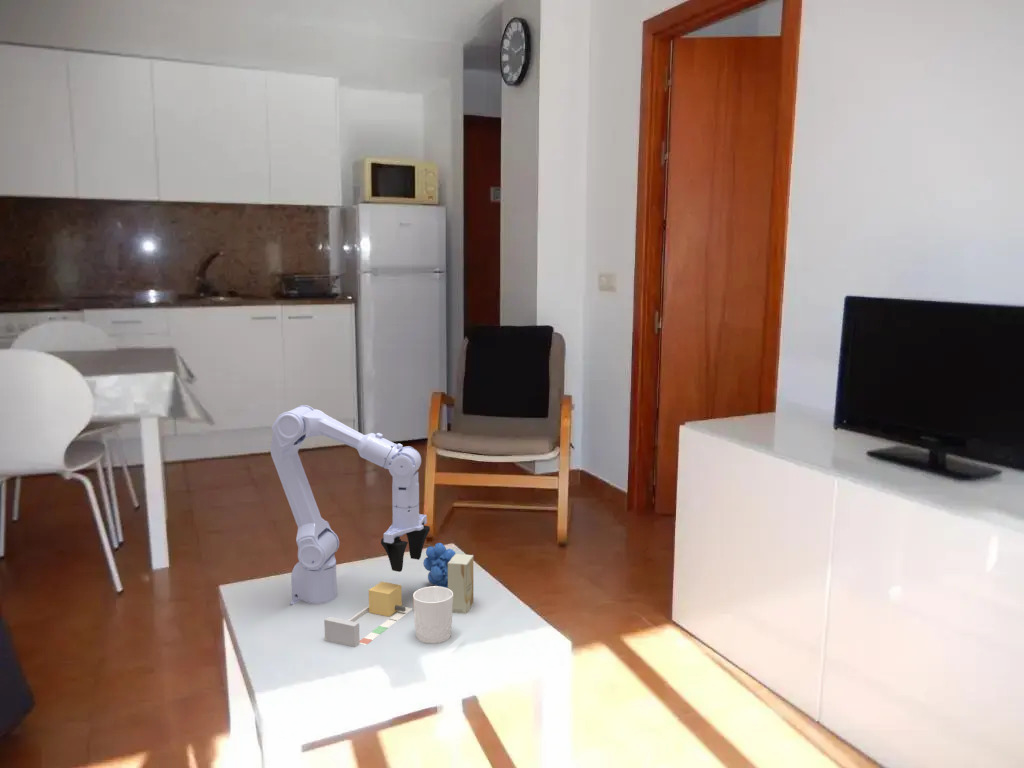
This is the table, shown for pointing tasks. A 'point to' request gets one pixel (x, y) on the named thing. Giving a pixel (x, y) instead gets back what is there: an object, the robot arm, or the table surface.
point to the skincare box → (461, 582)
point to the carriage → (385, 599)
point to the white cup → (433, 613)
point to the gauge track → (355, 628)
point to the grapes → (438, 564)
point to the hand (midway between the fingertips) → (406, 564)
